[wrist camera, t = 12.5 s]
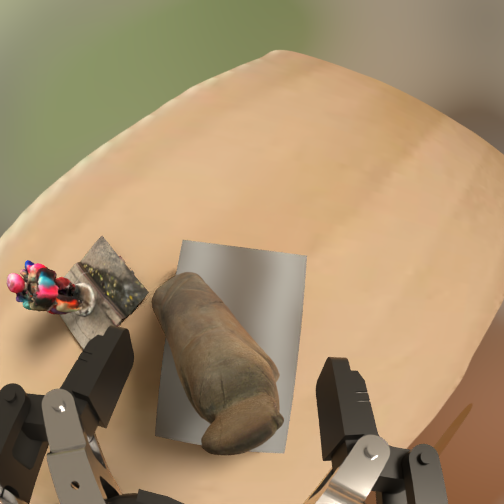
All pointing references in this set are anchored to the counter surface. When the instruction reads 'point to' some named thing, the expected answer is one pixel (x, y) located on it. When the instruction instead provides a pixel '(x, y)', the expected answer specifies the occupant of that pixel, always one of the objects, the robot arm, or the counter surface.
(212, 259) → the grey and brown block
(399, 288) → the counter surface
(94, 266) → the statue
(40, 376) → the counter surface
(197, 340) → the brown carved statuette
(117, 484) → the robot arm
